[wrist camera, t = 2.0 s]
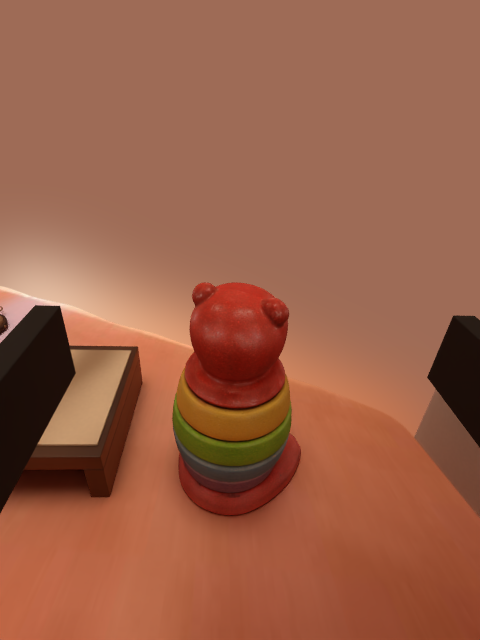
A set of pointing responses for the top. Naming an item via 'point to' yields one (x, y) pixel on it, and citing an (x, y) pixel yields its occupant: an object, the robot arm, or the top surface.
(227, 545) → the top surface
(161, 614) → the top surface
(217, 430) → the stacking bear
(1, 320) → the compass
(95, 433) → the dollhouse bed
